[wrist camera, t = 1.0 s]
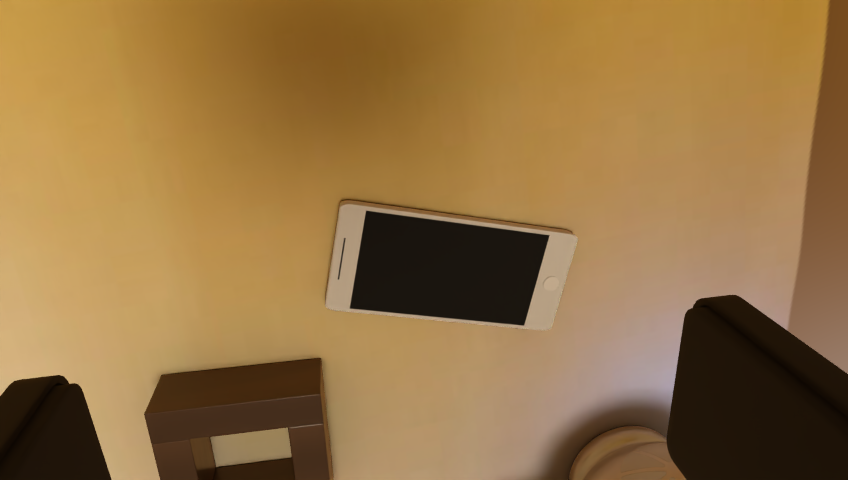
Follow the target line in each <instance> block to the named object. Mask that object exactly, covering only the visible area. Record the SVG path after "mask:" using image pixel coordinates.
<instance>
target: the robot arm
mask: <svg viewBox="0 0 848 480" xmlns="http://www.w3.org/2000/svg"><path fill="white" fill-rule="evenodd" d="M667 448H668V452H669V455H670V457H671V459H672V461H673V462H674V464H675V465H676V466H677V468H678V469H679V470H680V472H681V473H682V474H683V476H684V477H685V478H686V480H848V374H847V373H845V372H844V371H842V370H841V369H840V368H838V367H837V366H836V365H834V364H833V363H831V362H830V361H829V360H827V359H826V358H824V357H823V356H822V355H820V354H819V353H818V352H816V351H815V350H813V349H812V348H810V347H809V346H808V345H806V344H805V343H804V342H802V341H801V340H799V339H798V338H797V337H795V336H794V335H792V334H791V333H790V332H788V331H787V330H785V329H784V328H783V327H781V326H780V325H779V324H777V323H776V322H774V321H773V320H772V319H770V318H769V317H767V316H766V315H765V314H763V313H762V312H760V311H759V310H758V309H756V308H755V307H753V306H752V305H751V304H749V303H748V302H746V301H745V300H744V299H742V298H741V297H739V296H737V295H726V296H718V297H710V298H701V299H699V300H697V301H696V303H695V304H694V306H693V308H692V309H689V310H688V311H687V312H686V314H685V318H684V324H683V330H682V337H681V344H680V351H679V357H678V364H677V371H676V378H675V384H674V391H673V398H672V404H671V411H670V418H669V425H668V431H667ZM0 480H111V477H110V474H109V471H108V468H107V465H106V462H105V458H104V455H103V452H102V449H101V446H100V443H99V440H98V437H97V434H96V431H95V428H94V425H93V421H92V418H91V415H90V412H89V409H88V406H87V403H86V400H85V397H84V394H83V391H82V389H81V387H80V386H79V385H78V384H75V383H74V384H69V383H68V381H67V380H66V378H65V377H63V376H61V375H56V376H47V377H39V378H31V379H22V380H17V381H14V382H13V383H11V384H10V385H9V386H8V387H7V389H6V390H5V391H4V392H3V394H2V395H1V396H0Z"/></svg>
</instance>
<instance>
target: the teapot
mask: <svg viewBox="0 0 848 480" xmlns="http://www.w3.org/2000/svg"><path fill="white" fill-rule="evenodd" d="M569 480H686V478H685V477H684V476H683V474H682V473H681V472H680V470H679V469H678V468H677V466H676V465H675V464H674V462H673V461H672V459H671V457H670V455H669V452H668V448H667V439H666V438H665V437H664V436H663V435H661V434H660V433H658V432H657V431H654V430H652V429H649V428H646V427H640V426H625V427H619V428H616V429H612V430H610V431H607V432H605V433H603V434H601V435H599V436H597V437H596V438H594V439H593V440H592V441H590V442H589V443H588V444H587V445H586V446H585V447H584V448H583V449H582V450H581V451H580V453H579V454H578V455H577V457H576V459H575V461H574V462H573V465H572V467H571V471H570V475H569Z"/></svg>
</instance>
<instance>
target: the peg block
mask: <svg viewBox="0 0 848 480" xmlns="http://www.w3.org/2000/svg"><path fill="white" fill-rule="evenodd" d="M144 415H145V419H146V423H147V427H148V431H149V436H150V440H151V443H152V448H153V452H154V456H155V460H156V464H157V468H158V472H159V476H160V480H333V468H332V459H331V449H330V440H329V430H328V421H327V411H326V402H325V392H324V383H323V373H322V364H321V358H317V359H308V360H299V361H289V362H280V363H271V364H261V365H252V366H243V367H233V368H224V369H215V370H205V371H196V372H187V373H177V374H168V375H161V378H160V380H159V382H158V384H157V387H156V389H155V391H154V393H153V396H152V398H151V400H150V402H149V405H148V407H147V409H146V411H145V414H144ZM286 427H288V432H289V439H290V446H291V454H292V458H289V459H282V460H274V461H266V462H259V463H251V464H243V465H235V466H228V467H220V468H216V467H215V462H214V457H213V452H212V447H211V442H210V437H212V436H220V435H229V434H237V433H245V432H253V431H261V430H270V429H278V428H286Z"/></svg>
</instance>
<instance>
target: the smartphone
mask: <svg viewBox="0 0 848 480" xmlns="http://www.w3.org/2000/svg"><path fill="white" fill-rule="evenodd" d="M577 241H578V238H577V237H576V236H575V235H574V234H573V233H572V232H570V231H568V230H563V229H555V228H548V227H541V226H534V225H526V224H519V223H512V222H505V221H497V220H490V219H483V218H476V217H468V216H461V215H454V214H446V213H439V212H432V211H425V210H417V209H410V208H403V207H396V206H388V205H381V204H374V203H367V202H359V201H352V200H346V201H342V202H341V203H340V205H339V212H338V218H337V225H336V232H335V238H334V245H333V251H332V258H331V265H330V271H329V278H328V285H327V291H326V298H325V306H326V307H327V308H328V309H331V310H335V311H345V312H355V313H366V314H376V315H386V316H397V317H407V318H417V319H428V320H438V321H448V322H459V323H469V324H479V325H490V326H500V327H510V328H521V329H531V330H543V331H545V330H549V329H551V328H552V325H553V322H554V318H555V315H556V312H557V308H558V305H559V302H560V298H561V295H562V291H563V288H564V285H565V281H566V278H567V275H568V271H569V268H570V265H571V261H572V258H573V255H574V251H575V248H576V245H577Z"/></svg>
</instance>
